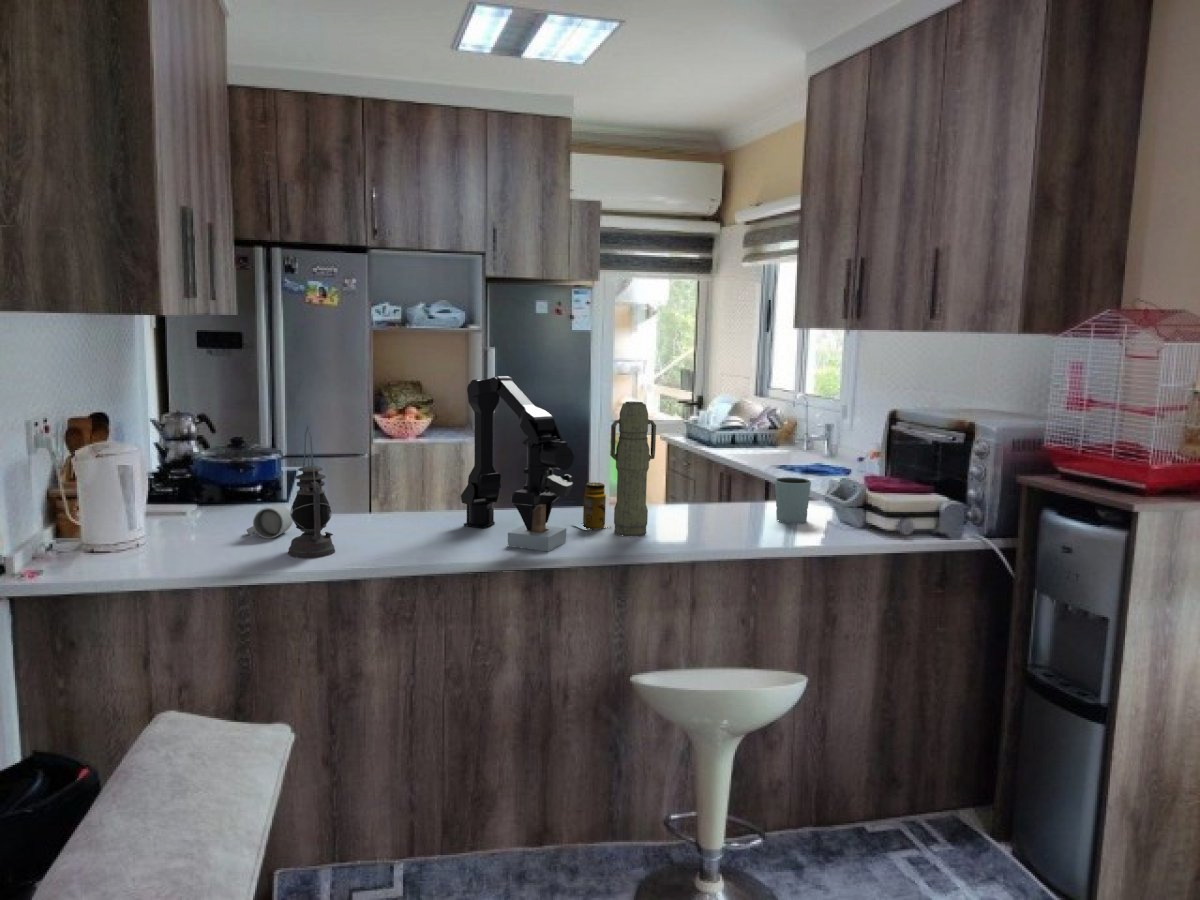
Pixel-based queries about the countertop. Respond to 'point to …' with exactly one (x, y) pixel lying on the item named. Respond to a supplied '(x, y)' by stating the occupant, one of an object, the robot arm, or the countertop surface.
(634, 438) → the thermos
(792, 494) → the grey cup
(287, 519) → the ceramic mug
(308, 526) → the lantern
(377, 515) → the countertop surface
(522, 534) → the holder
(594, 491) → the condiment
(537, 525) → the peg
